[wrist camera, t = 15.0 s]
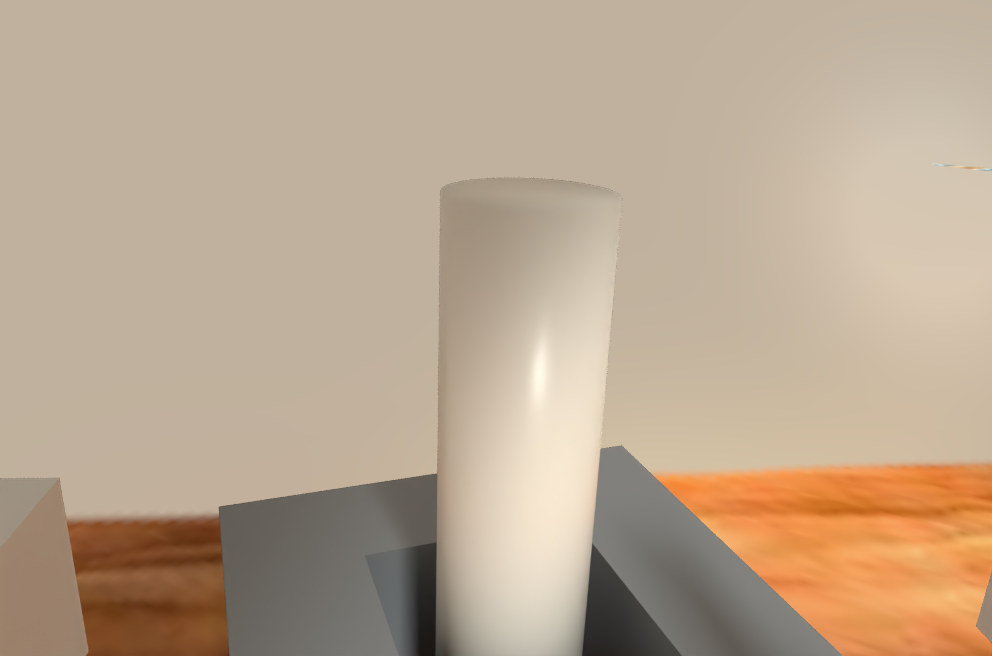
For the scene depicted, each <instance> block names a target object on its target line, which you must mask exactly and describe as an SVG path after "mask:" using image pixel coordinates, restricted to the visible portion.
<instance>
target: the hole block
mask: <svg viewBox="0 0 992 656" xmlns="http://www.w3.org/2000/svg"><path fill="white" fill-rule="evenodd" d="M219 517H220V531H221V545H222V559H223V573H224V587H225V601H226V615H227V629H228V643H229V656H435V655H436V559H437V474H431V475H425V476H418V477H412V478H405V479H398V480H392V481H385V482H379V483H372V484H366V485H359V486H352V487H346V488H339V489H333V490H326V491H319V492H313V493H306V494H300V495H294V496H287V497H280V498H274V499H267V500H260V501H254V502H247V503H241V504H234V505H227V506H221V507H219ZM582 656H842V655H841V654H840V653H839V652H838V651H837V650H836V649H835V648H834V647H833V646H832V645H831V644H830V643H829V642H828V641H827V640H826V639H825V638H824V637H822V636H821V635H820V634H819V633H818V632H817V631H816V630H815V629H814V628H813V627H812V626H811V625H810V624H809V623H808V622H807V621H806V620H805V619H804V618H802V617H801V616H800V615H799V614H798V613H797V612H796V611H795V610H794V609H793V608H792V607H791V606H790V605H789V604H788V603H787V602H786V601H785V600H784V599H783V598H781V597H780V596H779V595H778V594H777V593H776V592H775V591H774V590H773V589H772V588H771V587H770V586H769V585H768V584H767V583H766V582H765V581H764V580H763V579H761V578H760V577H759V576H758V575H757V574H756V573H755V572H754V571H753V570H752V569H751V568H750V567H749V566H748V565H747V564H746V563H745V562H744V561H743V560H741V559H740V558H739V557H738V556H737V555H736V554H735V553H734V552H733V551H732V550H731V549H730V548H729V547H728V546H727V545H726V544H725V543H724V542H723V541H721V540H720V539H719V538H718V537H717V536H716V535H715V534H714V533H713V532H712V531H711V530H710V529H709V528H708V527H707V526H706V525H705V524H704V523H703V522H702V521H700V520H699V519H698V518H697V517H696V516H695V515H694V514H693V513H692V512H691V511H690V510H689V509H688V508H687V507H686V506H685V505H684V504H683V503H682V502H680V501H679V500H678V499H677V498H676V497H675V496H674V495H673V494H672V493H671V492H670V491H669V490H668V489H667V488H666V487H665V486H664V485H663V484H662V483H660V482H659V481H658V480H657V479H656V478H655V477H654V476H653V475H652V474H651V473H650V472H649V471H648V470H647V469H646V468H645V467H644V466H642V464H640V463H639V462H638V461H637V460H636V459H635V458H634V457H633V456H632V455H631V454H630V453H629V452H628V451H627V450H626V449H625V448H624V447H623V446H615V447H609V448H602V449H600V459H599V470H598V482H597V493H596V505H595V516H594V527H593V539H592V550H591V561H590V573H589V584H588V595H587V607H586V618H585V629H584V641H583V652H582Z"/></svg>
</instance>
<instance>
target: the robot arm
mask: <svg viewBox="0 0 992 656" xmlns="http://www.w3.org/2000/svg"><path fill="white" fill-rule="evenodd" d="M976 627H977V628H978V629H979V630H980V631H981V632H982V633H983V634H984V635H985V636H986V637H987V638H988V640H989V641H990V642H991V643H992V573H991V576H990V580H989V583H988V586H987V590H986V593H985V597H984V600H983V604H982V607H981V611H980V614H979V618H978V621H977V625H976ZM88 651H89V650H88V644H87V638H86V632H85V627H84V621H83V615H82V609H81V603H80V597H79V591H78V585H77V579H76V574H75V568H74V562H73V556H72V550H71V544H70V538H69V532H68V526H67V521H66V515H65V509H64V503H63V497H62V491H61V485H60V479H59V478H0V656H86V655H87V653H88Z"/></svg>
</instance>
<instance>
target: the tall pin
mask: <svg viewBox="0 0 992 656" xmlns="http://www.w3.org/2000/svg"><path fill="white" fill-rule="evenodd" d="M621 209H622V196H621V195H620V194H619V193H617V192H615V191H613V190H610V189H607V188H603V187H600V186H595V185H591V184H585V183H578V182H572V181H563V180H553V179H539V178H485V179H473V180H466V181H460V182H455V183H451V184H448V185H446V186H444V187H442V188H441V191H440V272H439V274H440V276H439V367H438V369H439V370H438V464H437V467H438V468H437V559H436V655H435V656H582V652H583V641H584V629H585V618H586V607H587V595H588V584H589V573H590V561H591V550H592V539H593V527H594V516H595V505H596V493H597V482H598V470H599V459H600V448H601V436H602V425H603V413H604V402H605V390H606V379H607V368H608V357H609V345H610V333H611V322H612V312H613V300H614V289H615V277H616V266H617V255H618V243H619V232H620V220H621Z"/></svg>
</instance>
